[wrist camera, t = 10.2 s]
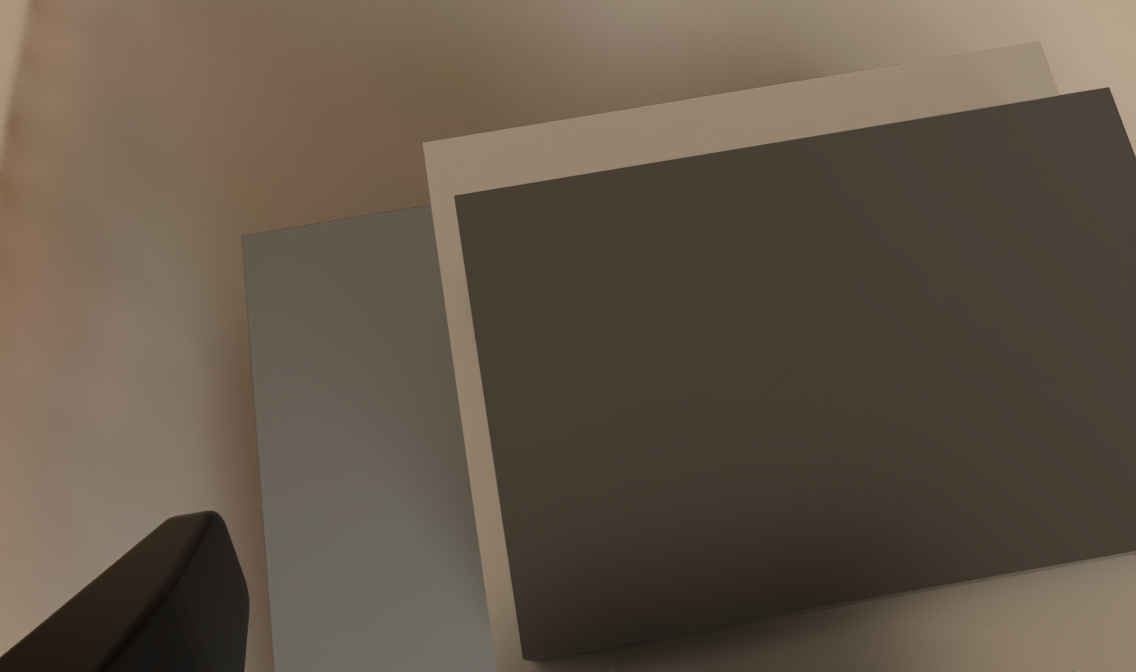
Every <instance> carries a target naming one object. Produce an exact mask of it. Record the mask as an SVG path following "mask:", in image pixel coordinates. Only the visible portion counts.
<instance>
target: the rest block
mask: <svg viewBox="0 0 1136 672" xmlns="http://www.w3.org/2000/svg"><path fill="white" fill-rule="evenodd" d="M242 246H243V260H244V273H245V286H246V299H247V313H248V326H249V339H250V353H251V366H252V379H253V393H254V406H255V419H256V432H257V446H258V459H259V472H260V486H261V499H262V512H263V525H264V539H265V552H266V565H267V579H268V592H269V605H270V619H271V632H272V645H273V658H274V672H497V670H496V663H495V656H494V648H493V641H492V634H491V627H490V620H489V613H488V606H487V599H486V592H485V585H484V577H483V570H482V563H481V556H480V549H479V542H478V535H477V528H476V521H475V514H474V506H473V499H472V492H471V485H470V478H469V471H468V464H467V457H466V450H465V443H464V435H463V428H462V421H461V414H460V407H459V400H458V393H457V386H456V379H455V372H454V364H453V357H452V350H451V343H450V336H449V329H448V322H447V315H446V308H445V301H444V293H443V286H442V279H441V272H440V265H439V258H438V251H437V244H436V237H435V230H434V222H433V215H432V208H431V205H427V206H420V207H414V208H408V209H402V210H396V211H390V212H384V213H378V214H372V215H365V216H359V217H353V218H347V219H341V220H335V221H329V222H323V223H316V224H310V225H304V226H298V227H292V228H286V229H280V230H274V231H268V232H261V233H255V234H249V235H243V236H242Z"/></svg>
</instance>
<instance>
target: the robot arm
mask: <svg viewBox="0 0 1136 672" xmlns="http://www.w3.org/2000/svg"><path fill="white" fill-rule="evenodd" d="M248 621H249V594H248V588H247V584H246V580H245V578H244V575H243V572H242V569H241V566H240V563H239V561H238V558H237V555H236V552H235V549H234V546H233V544H232V541H231V538H230V535H229V532H228V530H227V527H226V524H225V522H224V520H223V519H222V517H221V516H220V515H219V514H218V513H216V512H214V511H203V512H197V513H192V514H186V515H180V516H174V517H171V518H169V519H167V520H166V521H165V522H163V523H162V524H161V525H160V526H159V527H157V528H156V529H155V530H154V531H153V532H151V533H150V534H149V535H148V536H146V537H145V538H144V539H143V540H142V541H140V542H139V543H138V544H137V545H136V546H134V547H133V548H132V549H131V550H130V551H128V552H127V553H126V554H125V555H124V556H122V557H121V558H120V559H119V560H117V561H116V562H115V563H114V564H113V565H111V566H110V567H109V568H108V569H107V570H105V571H104V572H103V573H102V574H101V575H99V576H98V577H97V578H96V579H95V580H93V581H92V582H91V583H90V584H88V585H87V586H86V587H85V588H84V589H82V590H81V591H80V592H79V593H78V594H76V595H75V596H74V597H73V598H72V599H70V600H69V601H68V602H67V603H66V604H64V605H63V606H62V607H61V608H59V609H58V610H57V611H56V612H55V613H53V614H52V615H51V616H50V617H49V618H47V619H46V620H45V621H44V622H43V623H41V624H40V625H39V626H38V627H37V628H35V629H34V630H33V631H32V632H30V633H29V634H28V635H27V636H26V637H24V638H23V639H22V640H21V641H20V642H18V643H17V644H16V645H15V646H14V647H12V648H11V649H10V650H9V651H8V652H6V653H5V654H4V655H3V656H1V657H0V672H244V669H245V657H246V645H247V633H248Z"/></svg>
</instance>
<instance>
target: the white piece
mask: <svg viewBox="0 0 1136 672" xmlns="http://www.w3.org/2000/svg"><path fill="white" fill-rule="evenodd" d="M422 144H423V151H424V159H425V166H426V173H427V180H428V187H429V194H430V201H431V208H432V215H433V222H434V230H435V237H436V244H437V251H438V258H439V265H440V272H441V279H442V286H443V293H444V301H445V308H446V315H447V322H448V329H449V336H450V343H451V350H452V357H453V364H454V372H455V379H456V386H457V393H458V400H459V407H460V414H461V421H462V428H463V435H464V443H465V450H466V457H467V464H468V471H469V478H470V485H471V492H472V499H473V506H474V514H475V521H476V528H477V535H478V542H479V549H480V556H481V563H482V570H483V577H484V585H485V592H486V599H487V606H488V613H489V620H490V627H491V634H492V641H493V648H494V656H495V663H496V670H497V672H1136V157H1135V154H1134V152H1133V149H1132V146H1131V144H1130V141H1129V139H1128V136H1127V133H1126V131H1125V128H1124V125H1123V123H1122V120H1121V117H1120V115H1119V112H1118V110H1117V107H1116V104H1115V102H1114V99H1113V96H1112V94H1111V91H1110V89H1109V87H1108V88H1102V89H1096V90H1090V91H1084V92H1078V93H1071V94H1065V95H1059V93H1058V90H1057V87H1056V85H1055V82H1054V79H1053V76H1052V74H1051V71H1050V68H1049V65H1048V63H1047V60H1046V57H1045V54H1044V51H1043V49H1042V46H1041V43H1040V41H1039V42H1033V43H1027V44H1021V45H1015V46H1009V47H1003V48H997V49H991V50H984V51H978V52H972V53H966V54H960V55H954V56H948V57H942V58H936V59H929V60H923V61H917V62H911V63H905V64H899V65H893V66H887V67H881V68H875V69H868V70H862V71H856V72H850V73H844V74H838V75H832V76H826V77H820V78H813V79H807V80H801V81H795V82H789V83H783V84H777V85H771V86H765V87H759V88H752V89H746V90H740V91H734V92H728V93H722V94H716V95H710V96H704V97H697V98H691V99H685V100H679V101H673V102H667V103H661V104H655V105H649V106H643V107H636V108H630V109H624V110H618V111H612V112H606V113H600V114H594V115H588V116H581V117H575V118H569V119H563V120H557V121H551V122H545V123H539V124H533V125H526V126H520V127H514V128H508V129H502V130H496V131H490V132H484V133H478V134H472V135H465V136H459V137H453V138H447V139H441V140H435V141H429V142H423V143H422Z"/></svg>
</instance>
